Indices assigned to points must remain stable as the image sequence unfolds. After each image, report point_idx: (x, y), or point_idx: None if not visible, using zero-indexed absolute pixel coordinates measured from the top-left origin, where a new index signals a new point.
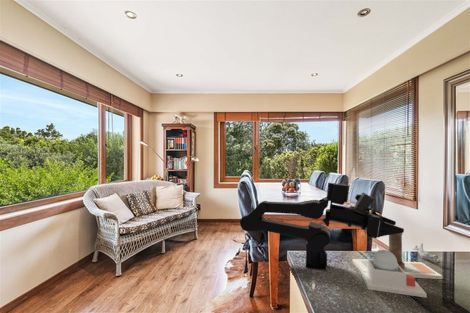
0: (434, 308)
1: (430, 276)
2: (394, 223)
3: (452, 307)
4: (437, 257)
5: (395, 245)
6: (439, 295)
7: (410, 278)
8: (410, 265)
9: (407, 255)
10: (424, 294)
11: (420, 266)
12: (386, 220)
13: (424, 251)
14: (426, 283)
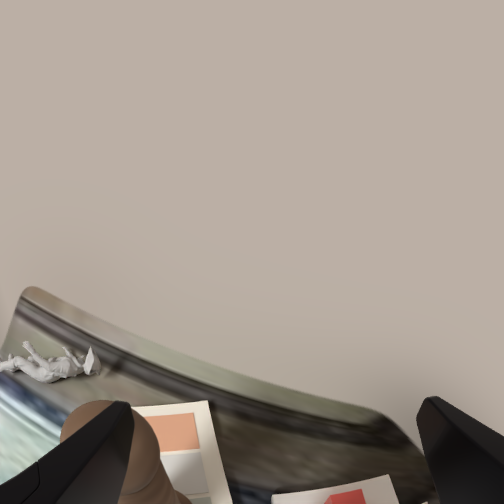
0: None
1: (214, 434)
2: (130, 422)
3: (400, 433)
4: (94, 353)
5: (169, 497)
6: (345, 448)
7: (365, 502)
8: None
9: (17, 410)
10: (389, 480)
11: None
12: (98, 474)
13: (57, 364)
14: (266, 462)
